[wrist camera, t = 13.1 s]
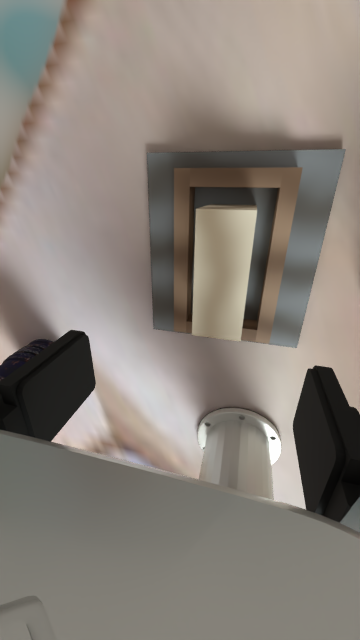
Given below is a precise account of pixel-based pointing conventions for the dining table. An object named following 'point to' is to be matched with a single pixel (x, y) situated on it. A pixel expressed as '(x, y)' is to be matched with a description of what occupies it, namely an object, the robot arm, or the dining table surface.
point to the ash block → (222, 269)
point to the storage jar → (22, 356)
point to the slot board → (269, 237)
